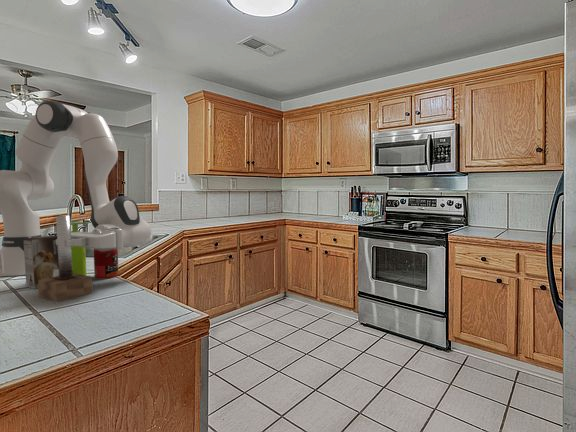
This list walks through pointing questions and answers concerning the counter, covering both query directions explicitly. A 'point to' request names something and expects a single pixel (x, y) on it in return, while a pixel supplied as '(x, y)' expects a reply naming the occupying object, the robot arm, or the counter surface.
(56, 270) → the short steel dowel
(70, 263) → the long steel dowel
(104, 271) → the canned food
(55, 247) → the coffee box
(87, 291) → the walnut socket block
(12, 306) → the counter surface
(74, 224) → the soap dispenser
